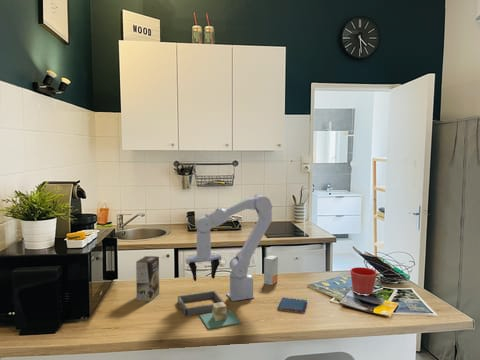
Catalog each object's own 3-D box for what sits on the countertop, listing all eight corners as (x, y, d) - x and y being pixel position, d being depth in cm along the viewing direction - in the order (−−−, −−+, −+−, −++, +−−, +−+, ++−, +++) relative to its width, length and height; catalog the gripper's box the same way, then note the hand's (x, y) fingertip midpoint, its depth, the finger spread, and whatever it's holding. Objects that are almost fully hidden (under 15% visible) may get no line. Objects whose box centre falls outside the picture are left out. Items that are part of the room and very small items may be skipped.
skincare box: (272, 285, 167) (272, 259, 166) (263, 283, 170) (263, 258, 169) (277, 281, 172) (278, 256, 172) (269, 279, 175) (269, 255, 174)
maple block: (222, 315, 136) (222, 301, 136) (226, 319, 132) (226, 306, 132) (212, 316, 134) (212, 303, 134) (215, 321, 131) (215, 307, 130)
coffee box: (150, 301, 150) (150, 262, 148) (136, 300, 151) (135, 261, 150) (160, 293, 158) (159, 256, 157) (146, 292, 160) (145, 255, 158)
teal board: (230, 311, 140) (230, 309, 140) (240, 323, 130) (240, 322, 130) (199, 316, 136) (199, 315, 136) (208, 329, 126) (208, 328, 126)
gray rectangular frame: (214, 296, 155) (214, 290, 154) (225, 309, 142) (225, 303, 142) (177, 302, 149) (177, 296, 149) (185, 316, 136) (185, 309, 136)
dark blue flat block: (281, 301, 151) (281, 296, 151) (307, 304, 148) (307, 299, 148) (276, 311, 141) (276, 306, 141) (304, 315, 138) (304, 310, 138)
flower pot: (378, 291, 160) (379, 269, 159) (372, 300, 151) (373, 276, 150) (354, 286, 166) (354, 265, 165) (346, 294, 156) (347, 272, 156)
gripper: (188, 250, 144) (188, 284, 145) (223, 247, 149) (223, 279, 150) (184, 246, 151) (184, 278, 152) (218, 243, 156) (218, 274, 157)
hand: (204, 279), depth 151 cm, fingers open, 7 cm apart
